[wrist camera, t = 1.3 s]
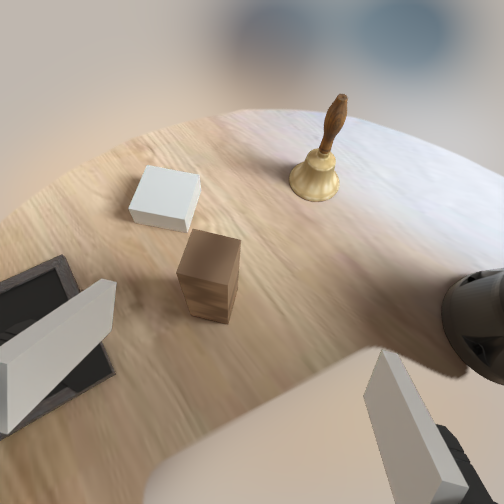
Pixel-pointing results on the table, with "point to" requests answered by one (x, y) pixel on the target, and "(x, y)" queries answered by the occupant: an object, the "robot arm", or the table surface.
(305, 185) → the hand bell
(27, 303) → the picture frame
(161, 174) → the white block
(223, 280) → the walnut block
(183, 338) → the table surface
